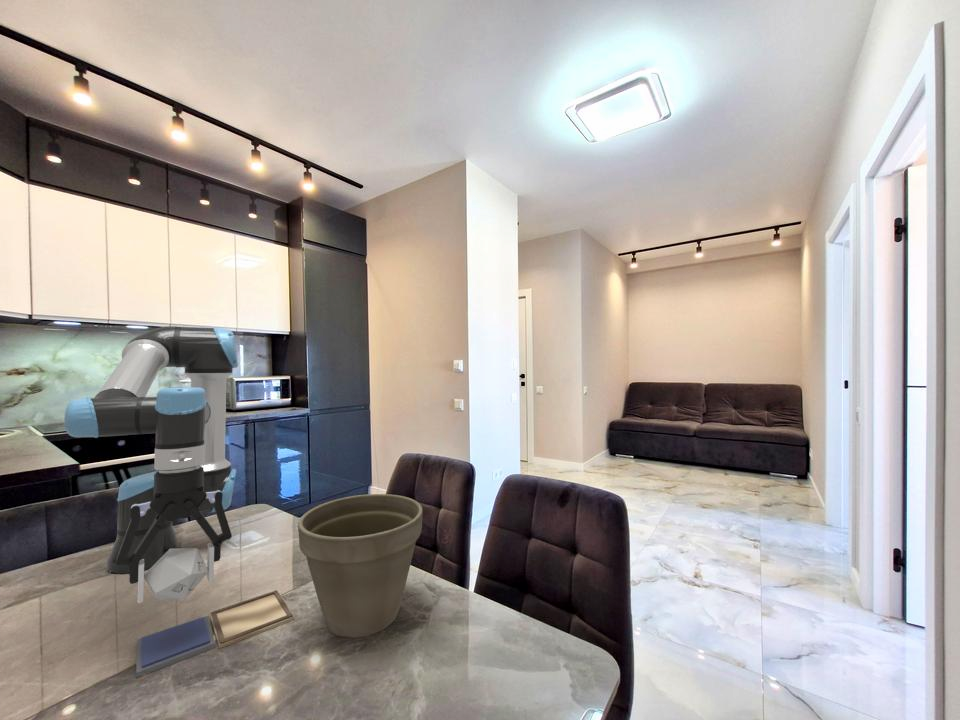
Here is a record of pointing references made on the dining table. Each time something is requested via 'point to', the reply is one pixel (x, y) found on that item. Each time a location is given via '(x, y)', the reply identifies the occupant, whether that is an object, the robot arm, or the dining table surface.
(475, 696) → the dining table surface
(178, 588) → the die
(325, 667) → the dining table surface
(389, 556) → the plant pot
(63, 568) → the dining table surface
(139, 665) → the ink pad
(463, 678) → the dining table surface
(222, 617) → the board
